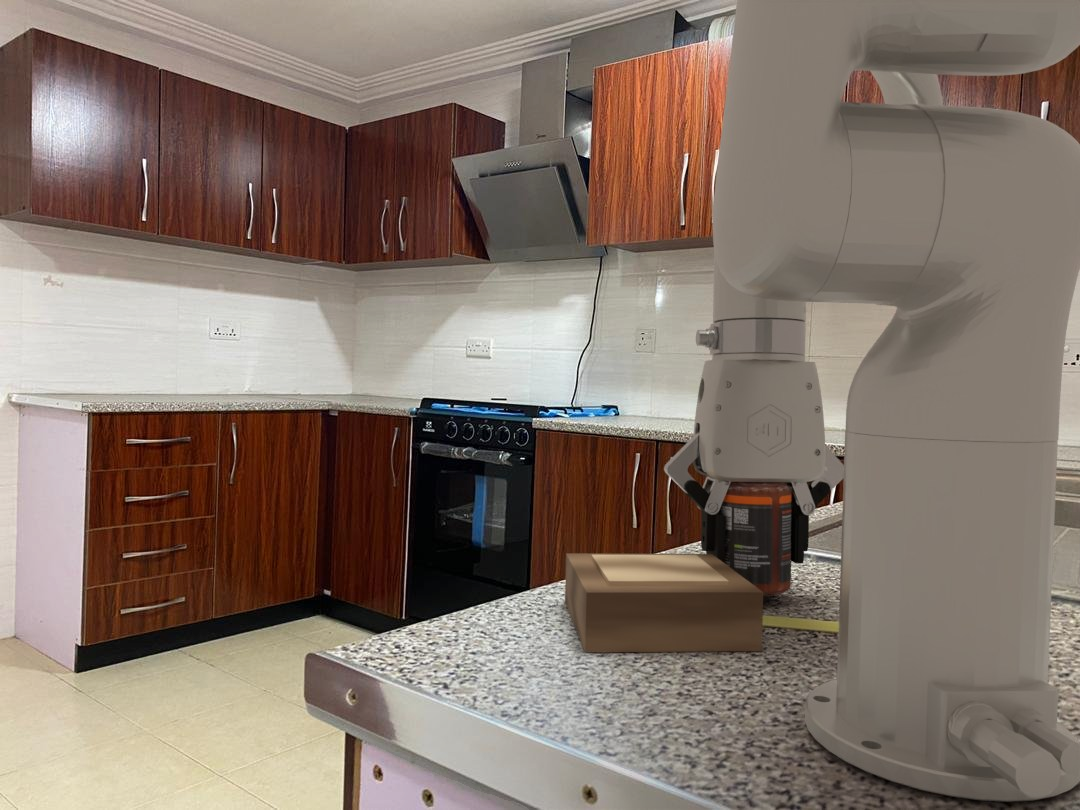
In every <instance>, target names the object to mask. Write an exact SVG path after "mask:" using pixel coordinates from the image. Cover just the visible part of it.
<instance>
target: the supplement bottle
mask: <svg viewBox="0 0 1080 810" xmlns="http://www.w3.org/2000/svg"><path fill="white" fill-rule="evenodd" d="M721 514H723V515H724V516H725V517H726V547H725V562H723V563H725V564H726V565H727V566H729V567H730V568H731V569H733V570H734V571H735V572H737V573H738V574H739V575H741V576H742V577H743V578H745V579H746V580H747V581H749V582H750V583H752V584H753V585H754V586H756V587H757V588H758V589H760V590H761V591H762V592H763V597H765V596H767V597H768V596H777V595H778V596H779V595H782V594H784V593H786V592H788V591H789V590H790V589H791V586H792V585H791V584H792V583H791V579H792V561H791V488H790V486H789V485H788V484H787V483H786V482H731V483H730V485H729V488H728V490H727V493H726V495H725V497H724V500H723V502H722V505H721Z"/></svg>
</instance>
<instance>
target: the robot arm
mask: <svg viewBox="0 0 1080 810" xmlns="http://www.w3.org/2000/svg"><path fill="white" fill-rule="evenodd" d="M1078 47H1080V0H736V6H735V15H734V23H733V31H732V40H731V49H730V56H729V57H730V58H729V66H728V73H727V82H726V91H725V99H724V100H725V101H724V107H723V116H722V124H721V133H720V143H719V149H718V151H719V152H718V157H717V165H716V166H717V167H716V176H715V187H714V196H713V205H712V242H713V243H712V244H713V250H714V252H713V255H714V256H713V257H714V258H713V296H712V297H713V301H712V302H713V303H712V306H713V308H712V323H711V324H710V327H709V328H706V329H703V330H702V329H698V330H696V335H695V344H696V346H698V347H701V346H702V347H705V348H706V349H707V348H708V350H709V354H710V355H712V356H711V360H710V359H709V360H706V361H704V364H703V368H702V373H701V377H700V381H699V387H698V394H697V401H696V407H695V417H694V426H693V435H692V437H691V438H690V439H689V440H688V441H687V442H686V443H685V444H684V445H683V446H682V447H681V448H680V449H679V450H678V451H677V452H676V454H674V455H673V456H672V457H671V458H670V459H669V460H668V461H667V462H666V464H664V467H663V471H664V472H665V474H666V475H667V476H668V477H669V478H670V479H671V480H672V481H673V482H674V483H675V484H676V485H677V486H678V487H679V488H680V489H681V490H682V492H684V493H685V495H686V496H687V497H688V498H689V499H690V500H692V502H693V503H694V504H695V505H696V506H697V508H698V509H699V510H700V511H701V523H700V524H701V525H700V527H701V528H700V547H701V550H702V551H703V552H705V554H713V555H714V556H715V557H717V558H718V559H719V560H721V561H722V562H725V547H726V517H725V516H724V515H723V514H721V505H722V502H723V500H724V497H725V495H726V493H727V490H728V488H729V485H730V483H731V482H786V483H787V484H788V485H789V486H790V488H791V563H792V562H793V563H794V564H804V561H805V557H804V556H805V555H804V554H805V552H807V551H808V550H809V540H810V539H809V538H810V537H809V536H810V535H809V533H810V532H809V530H810V529H809V527H810V526H809V525H810V516H811V515H813V514H814V513H815V511H816V507H817V506H818V505H819V504H820V503H821V502H822V501H824V499H825V498H827V496H829V494H830V493H831V490H833V489H834V488H836V486H837V485H838V484H840V482H841V481H842V480H843V482H842V483H843V484H842V485H843V486H842V487H843V488H842V516H841V543H840V577H839V578H840V579H839V603H838V604H839V605H838V607H839V609H838V637H837V638H838V639H837V640H838V641H837V665H836V666H837V667H836V669H837V670H836V673H837V674H836V679H831V680H829V681H827V682H824V683H822V684H820V685H818V686H816V687H815V688H814V689H812V690H811V691H810V692H809V693H808V694H807V696H806V697H805V704H804V709H805V710H804V721H805V724H806V728H807V730H808V731H809V733H810V734H811V736H812V737H813V739H814V740H816V742H817V743H819V744H820V745H821V746H823V748H825V749H826V750H827V751H828V752H830V753H832V754H833V756H834V755H835V756H836V757H837V758H839V759H841V760H842V761H844V762H845V763H848V764H850V765H852V766H854V767H856V768H857V769H860V770H862V771H864V772H866V773H869V774H871V775H874V776H876V777H879V778H882V779H885V780H887V781H890V782H892V783H896V784H899V785H903V786H907V787H909V788H914V789H916V790H919V791H924V792H930V793H933V794H939V795H944V796H948V797H955V798H962V799H967V800H968V799H969V800H976V801H988V802H989V801H990V802H991V801H992V802H1005V803H1006V802H1008V803H1009V802H1011V803H1012V802H1025V801H1026V802H1029V801H1037V800H1043V799H1048V798H1053V797H1056V796H1059V795H1060V794H1064V793H1066V792H1068V791H1070V790H1072V789H1073V788H1075V787H1076V786H1077V785H1078V784H1079V783H1080V741H1079V739H1078V738H1077V737H1076V736H1075V735H1074V734H1072V732H1071V731H1069V729H1068V728H1067V727H1065V725H1063V724H1061V723H1059V722H1058V712H1059V710H1058V709H1059V688H1057V687H1055V686H1053V685H1051V684H1049V683H1048V682H1049V681H1048V680H1049V661H1050V659H1049V658H1050V656H1049V655H1050V638H1051V637H1050V633H1051V611H1052V610H1051V609H1052V592H1053V591H1052V590H1053V589H1052V588H1053V587H1052V586H1053V585H1052V584H1053V567H1054V566H1053V563H1054V561H1053V560H1054V543H1055V542H1054V539H1055V538H1054V537H1055V536H1054V535H1055V517H1056V515H1055V513H1056V494H1057V493H1056V491H1057V489H1056V488H1057V471H1058V470H1057V468H1058V467H1057V464H1058V463H1057V462H1058V441H1059V436H1060V435H1059V431H1060V414H1061V413H1060V410H1061V408H1060V407H1061V391H1062V390H1061V389H1062V378H1063V375H1062V374H1063V365H1064V364H1063V362H1064V354H1065V346H1066V345H1065V344H1066V338H1067V330H1068V325H1069V324H1068V323H1069V318H1070V312H1071V307H1072V302H1073V297H1074V293H1075V289H1076V285H1077V280H1078V277H1079V272H1080V143H1079V141H1077V140H1076V138H1074V137H1073V135H1071V134H1070V133H1069V132H1067V131H1066V130H1065V129H1063V128H1061V127H1060V126H1059V125H1057V124H1056V123H1053V122H1050V121H1049V120H1047V119H1044V118H1041V117H1039V116H1035V115H1032V114H1027V113H1023V112H1019V111H1017V110H1016V111H1014V110H1009V109H1002V108H1001V109H999V108H993V107H991V108H990V107H979V106H977V107H976V106H965V105H964V106H961V105H944V100H943V96H942V90H941V85H940V80H939V77H938V75H944V76H945V75H946V76H971V77H973V76H974V77H976V76H977V77H978V76H979V77H983V76H984V77H986V76H987V77H989V76H992V77H993V76H994V77H995V76H996V77H997V76H999V77H1000V76H1001V77H1002V76H1012V75H1022V74H1027V73H1031V72H1037V71H1040V70H1044V69H1046V68H1049V67H1051V66H1054V65H1055V64H1057V63H1059V62H1060V61H1062V60H1064V59H1066V58H1067V57H1068V56H1069V55H1070V54H1071V53H1073V52H1074V51H1075V50H1076V49H1077V48H1078ZM854 71H855V72H856V71H863V72H864V71H865V72H870V73H871V75H872V77H873V78H874V79H875V81H876V83H877V85H878V87H879V88H880V91H881V94H882V98H883V101H884V103H872V102H855V101H854V102H853V101H851V102H850V101H842V99H843V96H844V93H845V89H846V86H847V84H848V82H849V80H850V77H851V74H852V73H853V72H854ZM807 303H835V304H837V303H838V304H839V303H840V304H866V305H867V304H868V305H870V304H871V305H872V304H873V305H874V304H875V305H877V306H878V305H879V306H885V307H886V306H889V307H896V310H895V313H894V315H893V317H892V318H891V320H890V322H889V323H888V324H887V326H886V327H885V328H884V329H883V331H882V332H881V334H880V336H879V337H878V338H877V340H876V341H875V342H874V344H873V345H872V346H871V347H870V348H869V350H868V351H867V353H866V354H865V356H864V358H863V359H862V360H861V362H860V364H859V366H858V368H857V370H856V371H855V373H854V376H853V378H852V381H851V383H850V386H849V390H848V396H847V400H846V402H847V403H846V410H845V411H846V412H845V430H844V450H843V451H844V452H843V453H844V456H843V462H841V460H840V459H839V458H838V457H837V456H836V455H835V454H834V453H833V451H832V450H830V448H829V447H828V446H827V445H826V436H825V435H826V434H825V432H826V431H825V419H824V418H825V417H824V416H825V415H824V405H823V398H822V391H821V385H820V378H819V374H818V373H819V372H818V368H817V365H816V362H814V361H806V356H805V355H806V329H807V328H806V327H807V326H806V325H807V323H806V322H807V320H806V319H807ZM692 463H693V464H692ZM691 464H692V465H693V467H694V470H695V472H697V473H699V474H700V475H703V476H706V477H705V480H704V483H703V485H702V484H700V483H699V482H698V481H696V480H695V479H694V478H693V477H692V475H691V474H690V473H689V471H688V469H689V466H691ZM808 482H809V484H808Z"/></svg>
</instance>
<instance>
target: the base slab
mask: <svg viewBox="0 0 1080 810" xmlns="http://www.w3.org/2000/svg"><path fill="white" fill-rule="evenodd" d="M564 583H565V587H564V588H565V590H564V593H565V594H564V604H565V606H566V608H567V611H568V614H569V616H570V618H571V620H572V623H573V626H574V628H575V631H576V633H577V635H578V638H579V641H580V643H581V645H582V648H583V651H584V653H654V652H655V653H661V652H662V653H666V652H667V653H668V652H669V653H670V652H671V653H674V652H681V653H682V652H684V653H685V652H689V653H690V652H695V653H696V652H697V653H698V652H763V651H762V647H763V646H762V645H763V619H764V617H763V616H764V615H763V614H764V613H763V612H764V596H763V592H762V591H761V590H760V589H758V588H757V587H756V586H754V585H753V584H752V583H750V582H749V581H747V580H746V579H745V578H743V577H742V576H741V575H739V574H738V573H737V572H735V571H734V570H733V569H731V568H730V567H729V566H727V565H726V564H725V563H723V562H722V561H721V560H719V559H718V558H717V557H715V556H714V555H713V554H706V553H572V552H571V553H568V552H567V553H565V582H564Z"/></svg>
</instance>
